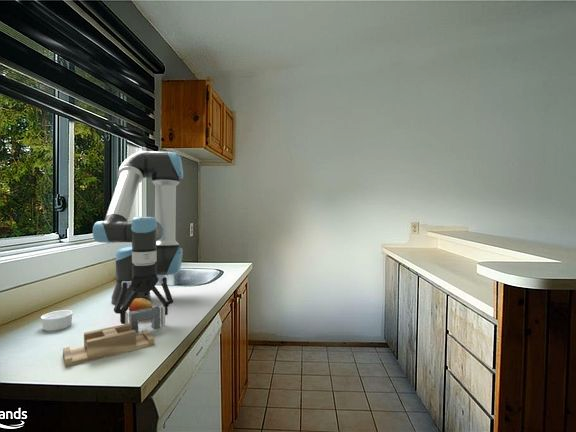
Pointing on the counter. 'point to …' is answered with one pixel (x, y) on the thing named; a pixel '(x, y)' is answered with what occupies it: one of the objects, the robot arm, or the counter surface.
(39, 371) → the counter surface
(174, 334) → the counter surface
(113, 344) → the rail
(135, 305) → the fruit
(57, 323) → the ramekin
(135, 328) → the clip
